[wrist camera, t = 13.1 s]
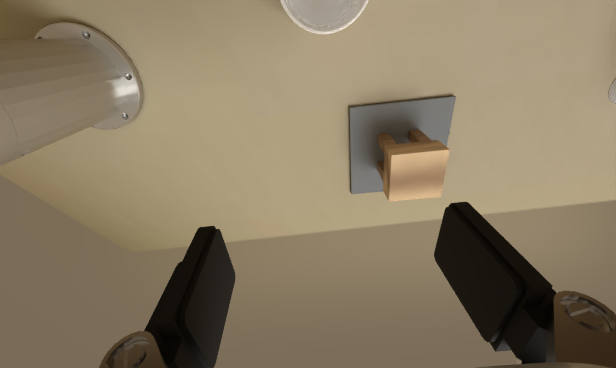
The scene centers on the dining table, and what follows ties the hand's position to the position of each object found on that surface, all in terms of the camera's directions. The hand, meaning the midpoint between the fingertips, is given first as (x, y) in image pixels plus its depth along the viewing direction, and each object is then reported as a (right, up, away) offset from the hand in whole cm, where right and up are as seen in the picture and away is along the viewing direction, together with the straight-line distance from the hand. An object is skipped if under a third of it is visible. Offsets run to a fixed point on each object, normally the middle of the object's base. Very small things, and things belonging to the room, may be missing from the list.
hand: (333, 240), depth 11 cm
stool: (+12, +7, +27) cm, 30 cm away
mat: (+12, +8, +27) cm, 31 cm away
